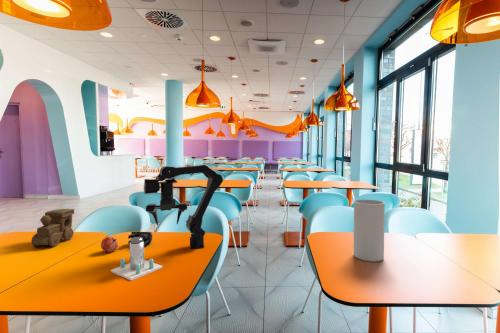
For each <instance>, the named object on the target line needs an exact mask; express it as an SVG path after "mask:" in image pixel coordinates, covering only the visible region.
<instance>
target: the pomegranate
mask: <svg viewBox="0 0 500 333" xmlns="http://www.w3.org/2000/svg"><path fill="white" fill-rule="evenodd" d="M118 247H119V242H118V240H117V239H116V238H115V237H110V236H107V237H105V238H103V239H102V240H101V243H100V248H101V249H102V251H103V252H105V253H112V252H114V251H116V250H117V249H118Z"/></svg>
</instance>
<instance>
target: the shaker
mask: <svg viewBox="0 0 500 333" xmlns="http://www.w3.org/2000/svg"><path fill="white" fill-rule="evenodd" d="M130 240H131V242H130V247H129V263H130V270H136V264H140V269H143V268H144V260H145V248H144V241H143V237H134V238H130Z"/></svg>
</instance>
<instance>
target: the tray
mask: <svg viewBox="0 0 500 333" xmlns="http://www.w3.org/2000/svg"><path fill="white" fill-rule="evenodd" d="M125 260H126V258H125V257H123V258H120V266H118V267H115V268H113V269H111V270H110V272H111V273H112V274H114V275H118V276H119V277H122V278H123V279H126V280H128V281H133V280H136V279H139V278H141V277H143V276H146V275H148V274H150V273H153V272H156V271H157V270H160V269H163V265H161V264H158V263H155V262H154V259H153V258H149V260H146V259H144V268H143V269H140V264H136V270H130V262H129V263H126V261H125Z"/></svg>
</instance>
